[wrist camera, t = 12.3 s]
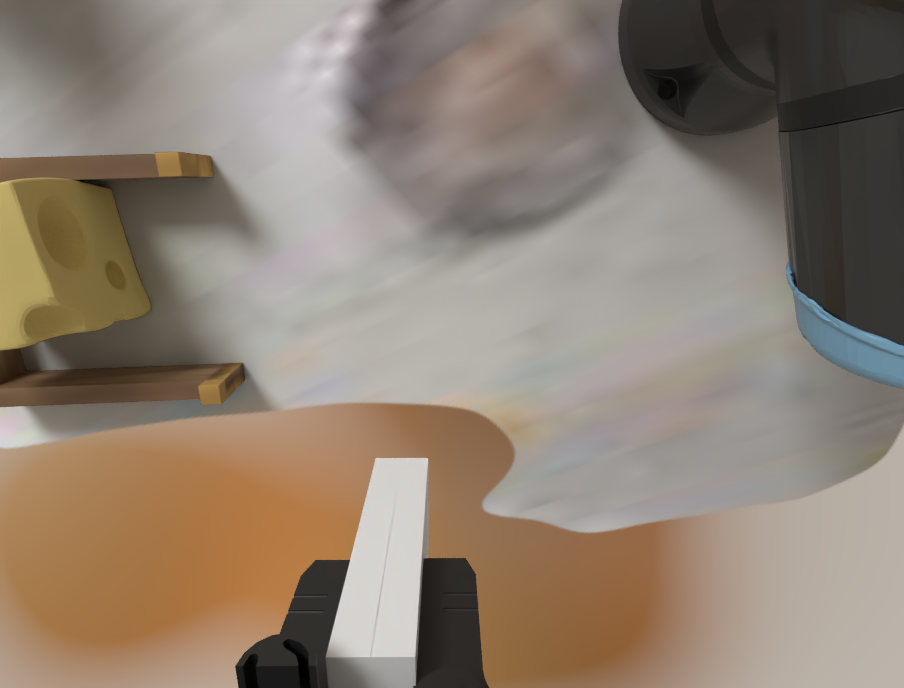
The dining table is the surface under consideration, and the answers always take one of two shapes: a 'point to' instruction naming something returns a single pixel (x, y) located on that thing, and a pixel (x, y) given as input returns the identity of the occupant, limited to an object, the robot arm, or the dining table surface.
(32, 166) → the bay
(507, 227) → the dining table surface
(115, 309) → the cheese
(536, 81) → the dining table surface
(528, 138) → the dining table surface
